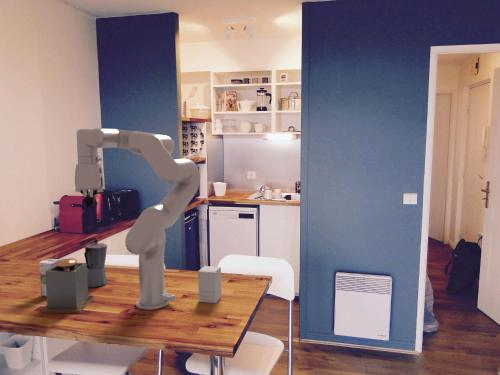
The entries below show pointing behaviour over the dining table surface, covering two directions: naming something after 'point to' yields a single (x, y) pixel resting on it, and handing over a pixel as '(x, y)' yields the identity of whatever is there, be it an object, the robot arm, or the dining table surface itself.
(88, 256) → the moka pot
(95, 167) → the robot arm
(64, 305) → the grey square canister
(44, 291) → the syrup box
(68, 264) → the plunger
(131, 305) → the dining table surface
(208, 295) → the supplement box
